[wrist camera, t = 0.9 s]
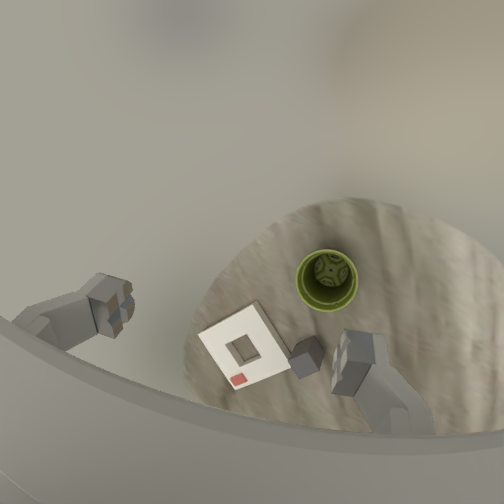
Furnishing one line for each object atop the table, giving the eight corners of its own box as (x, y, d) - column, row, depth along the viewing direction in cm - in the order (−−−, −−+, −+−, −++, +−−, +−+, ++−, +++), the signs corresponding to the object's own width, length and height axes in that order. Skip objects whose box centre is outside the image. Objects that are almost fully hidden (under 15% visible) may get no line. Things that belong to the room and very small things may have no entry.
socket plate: (295, 360, 57) (291, 368, 54) (239, 384, 62) (233, 391, 59) (256, 300, 58) (251, 305, 55) (203, 330, 63) (196, 335, 60)
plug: (324, 352, 55) (319, 370, 48) (306, 360, 56) (299, 379, 49) (314, 335, 55) (307, 351, 48) (296, 344, 56) (287, 361, 50)
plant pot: (364, 250, 50) (365, 258, 42) (350, 302, 52) (348, 319, 44) (312, 236, 52) (303, 242, 44) (299, 288, 54) (288, 302, 46)
